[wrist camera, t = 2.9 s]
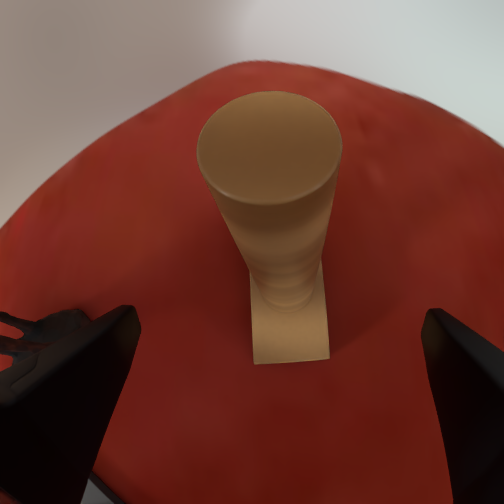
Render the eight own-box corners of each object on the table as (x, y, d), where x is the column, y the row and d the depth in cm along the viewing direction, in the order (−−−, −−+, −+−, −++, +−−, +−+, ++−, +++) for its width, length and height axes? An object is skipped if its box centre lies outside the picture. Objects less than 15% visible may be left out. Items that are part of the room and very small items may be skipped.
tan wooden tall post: (325, 359, 18) (414, 350, 4) (258, 364, 19) (155, 367, 5) (314, 233, 21) (330, 26, 7) (253, 239, 21) (184, 42, 7)
